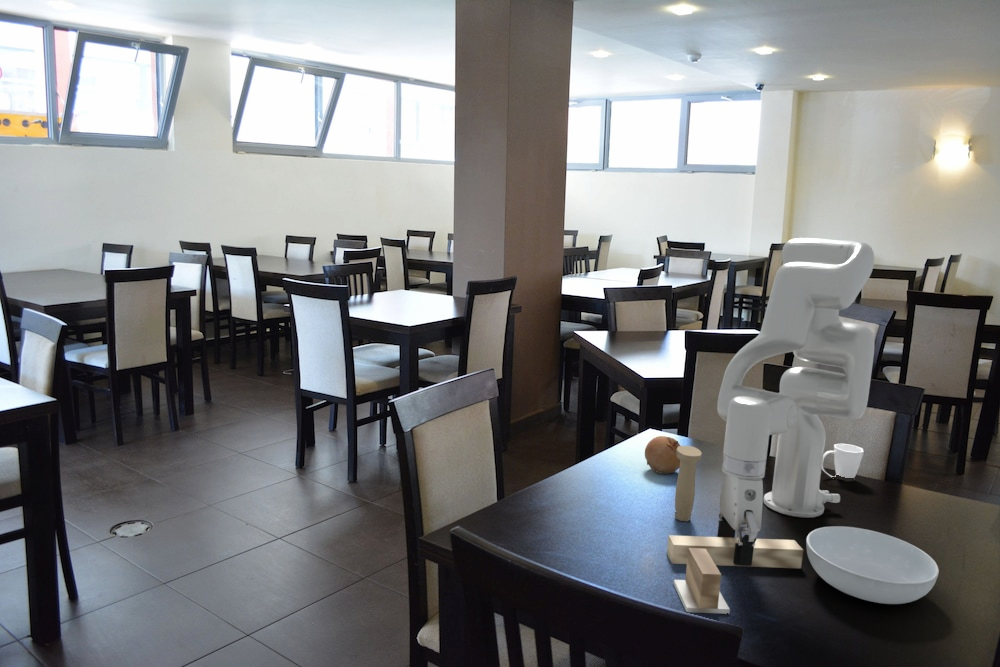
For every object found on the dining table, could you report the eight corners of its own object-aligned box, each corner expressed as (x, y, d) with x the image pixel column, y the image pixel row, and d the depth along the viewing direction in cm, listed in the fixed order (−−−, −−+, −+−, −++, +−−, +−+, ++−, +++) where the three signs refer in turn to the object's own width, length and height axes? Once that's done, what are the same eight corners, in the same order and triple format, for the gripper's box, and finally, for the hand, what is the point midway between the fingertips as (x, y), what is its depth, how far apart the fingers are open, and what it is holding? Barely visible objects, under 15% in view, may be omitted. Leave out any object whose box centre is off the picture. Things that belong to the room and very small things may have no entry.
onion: (676, 486, 183) (696, 456, 178) (643, 477, 181) (662, 447, 176) (666, 460, 191) (684, 431, 186) (633, 452, 189) (652, 422, 184)
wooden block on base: (713, 585, 130) (717, 549, 128) (729, 613, 121) (733, 575, 120) (673, 583, 130) (676, 547, 128) (686, 612, 121) (690, 573, 119)
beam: (792, 559, 141) (794, 540, 141) (800, 569, 137) (803, 549, 137) (666, 554, 141) (668, 535, 140) (671, 565, 137) (673, 544, 136)
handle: (690, 513, 160) (697, 446, 157) (697, 526, 154) (704, 456, 151) (668, 511, 160) (674, 445, 157) (674, 524, 154) (680, 455, 151)
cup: (865, 484, 182) (870, 453, 180) (825, 483, 181) (829, 451, 180) (851, 474, 189) (855, 443, 187) (812, 472, 188) (816, 442, 187)
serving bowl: (873, 631, 118) (879, 591, 117) (776, 569, 137) (781, 534, 136) (961, 607, 126) (967, 570, 125) (858, 552, 145) (863, 519, 144)
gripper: (782, 483, 127) (770, 576, 130) (748, 450, 144) (738, 533, 147) (738, 481, 127) (727, 574, 130) (709, 448, 144) (700, 531, 147)
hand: (733, 552), depth 139 cm, fingers open, 9 cm apart
